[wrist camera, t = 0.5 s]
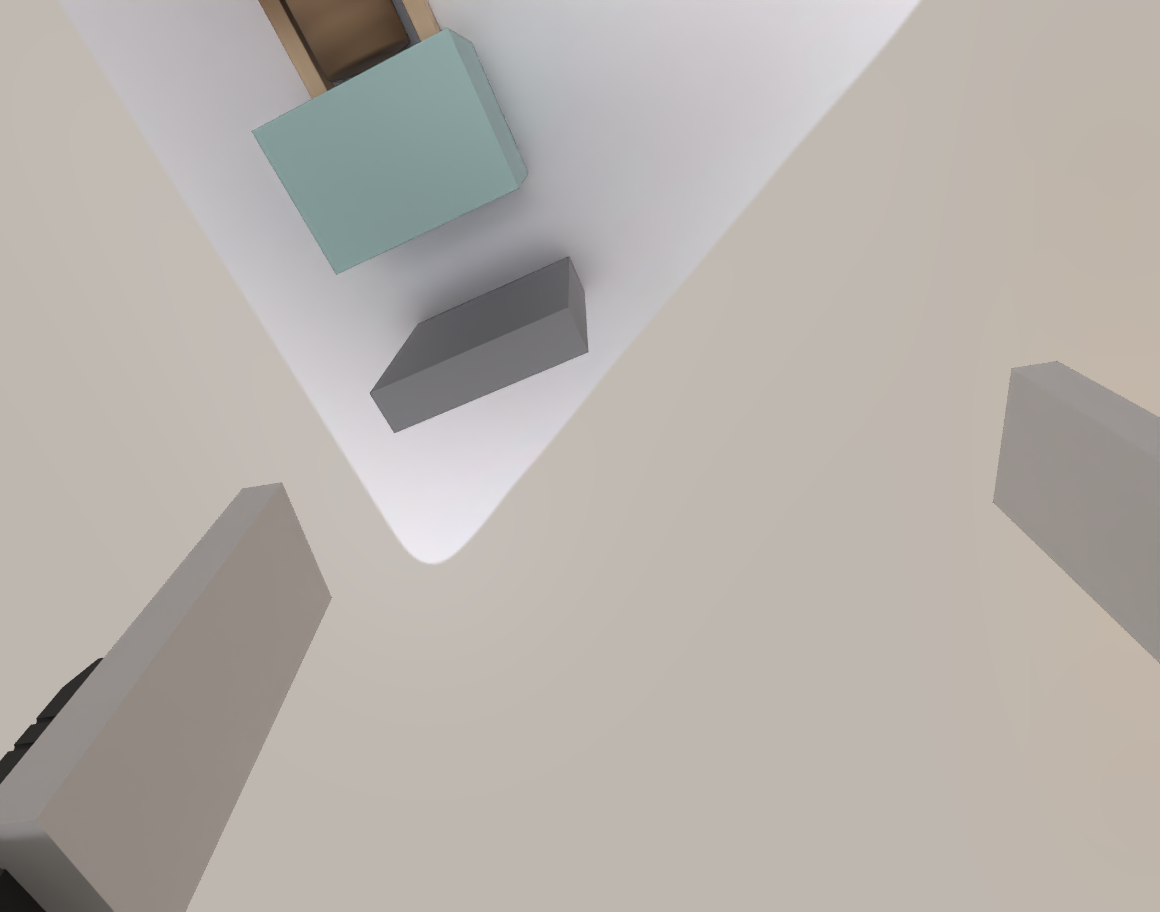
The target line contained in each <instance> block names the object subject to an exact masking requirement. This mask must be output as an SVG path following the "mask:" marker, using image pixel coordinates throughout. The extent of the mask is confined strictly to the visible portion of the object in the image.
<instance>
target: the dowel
mask: <svg viewBox="0 0 1160 912" xmlns="http://www.w3.org/2000/svg"><path fill="white" fill-rule="evenodd" d="M285 1H286V2H287V4H288V6H289V8H290V10H291V12H292V14H293V16H294V18H295V19H296V21H297V23H298V25H299V27H300V29H301V31H302V33H303V35H304V36H305V38H306V40H307V42H308V44H309V46H310V48H311V50H312V52H313V53H314V55H315V57H316V59H317V61H318V63H319V65H320V67H321V69H322V70H323V72H324V74H325V76H326V78H327V80H328V81H336V80H341V79H344V78H347V77H350V76H353V75H355V74H358V73H360V72H362V71H365V70H367V69H369V68H371V67H373V66H375V65H376V64H378V63H380V62H382V61H384V60H386V59H388V58H390V57H392V56H393V55H395V54H396V53H398V52H399V51H401V50H402V49H403V48H405V47H406V46H407V45H408V44H409V42H410V39H409V37H408V35H407V33H406V31H405V28H404V26H403V24H402V22H401V20H400V18H399V16H398V13H397V11H396V9H395V7H394V5H393V3H392V1H391V0H285Z"/></svg>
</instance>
